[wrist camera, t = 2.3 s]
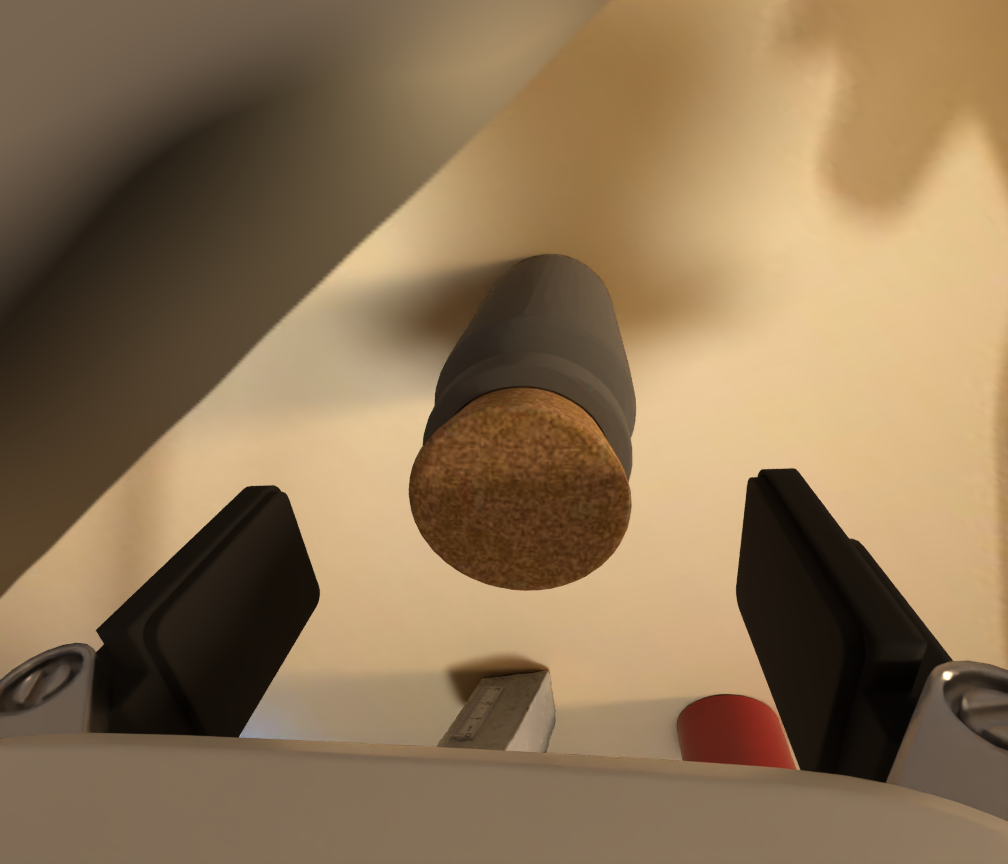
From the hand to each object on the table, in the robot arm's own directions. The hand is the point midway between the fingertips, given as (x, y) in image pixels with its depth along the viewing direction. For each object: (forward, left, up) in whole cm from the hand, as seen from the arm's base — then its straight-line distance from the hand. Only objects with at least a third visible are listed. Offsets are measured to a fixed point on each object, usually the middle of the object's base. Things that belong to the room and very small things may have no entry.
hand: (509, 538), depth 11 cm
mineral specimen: (+26, -5, -16) cm, 31 cm away
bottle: (0, 0, -16) cm, 16 cm away
